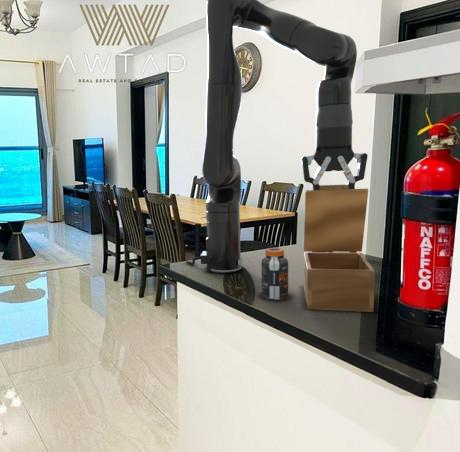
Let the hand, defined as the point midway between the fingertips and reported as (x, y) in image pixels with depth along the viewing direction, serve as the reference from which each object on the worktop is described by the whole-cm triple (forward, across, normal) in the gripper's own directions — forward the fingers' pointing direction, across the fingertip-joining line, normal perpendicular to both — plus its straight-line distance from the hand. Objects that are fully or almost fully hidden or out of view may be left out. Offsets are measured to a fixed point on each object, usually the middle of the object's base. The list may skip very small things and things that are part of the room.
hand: (333, 199), depth 106 cm
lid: (+5, 0, +3) cm, 6 cm away
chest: (+22, 0, +6) cm, 23 cm away
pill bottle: (+22, +13, +6) cm, 26 cm away
